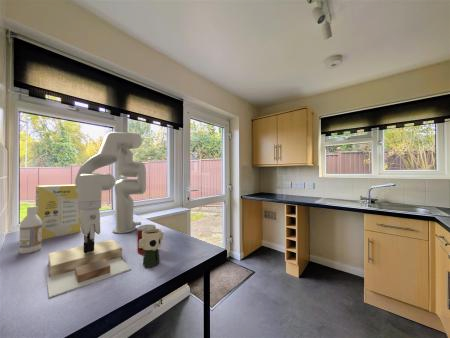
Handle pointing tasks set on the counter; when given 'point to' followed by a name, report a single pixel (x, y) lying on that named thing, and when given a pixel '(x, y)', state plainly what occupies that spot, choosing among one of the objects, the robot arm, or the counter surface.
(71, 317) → the counter surface
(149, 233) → the character mug
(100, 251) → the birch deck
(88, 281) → the cream mat
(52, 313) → the counter surface
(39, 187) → the pasta box
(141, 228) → the canned food
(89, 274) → the walnut tile
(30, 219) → the bath foam
